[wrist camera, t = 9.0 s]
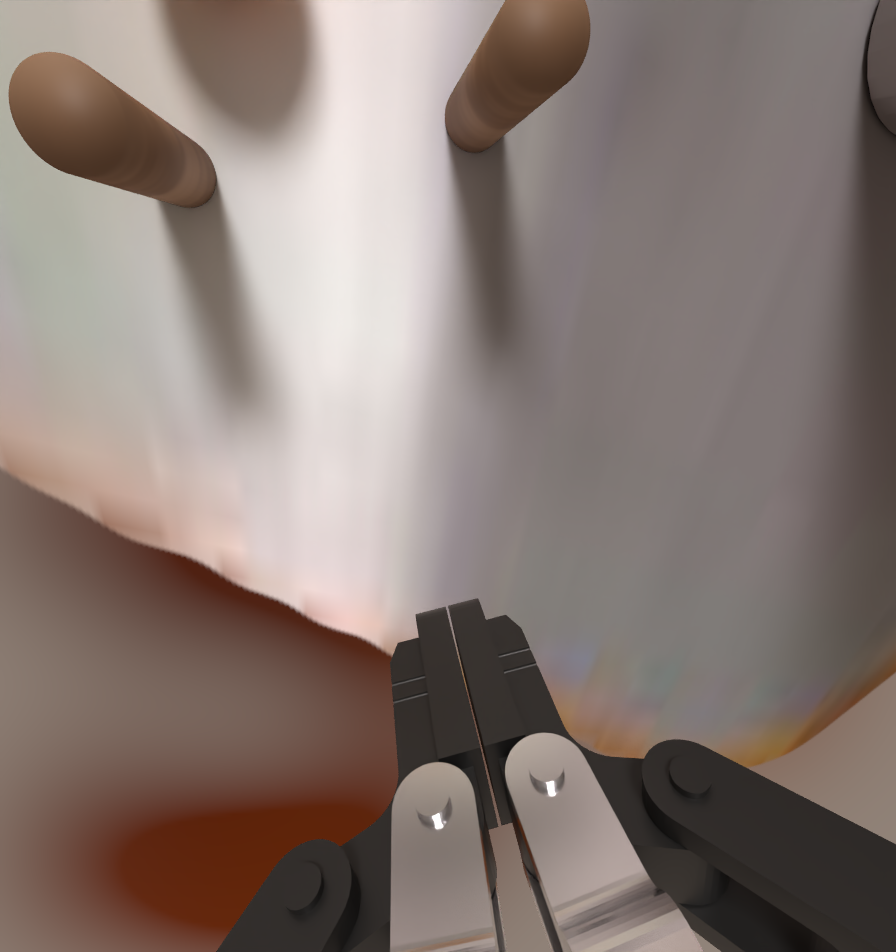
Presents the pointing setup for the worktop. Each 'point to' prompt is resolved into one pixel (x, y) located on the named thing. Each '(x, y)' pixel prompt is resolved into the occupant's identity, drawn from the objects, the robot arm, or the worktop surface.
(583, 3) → the post
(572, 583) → the worktop surface
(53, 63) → the post
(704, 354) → the worktop surface
